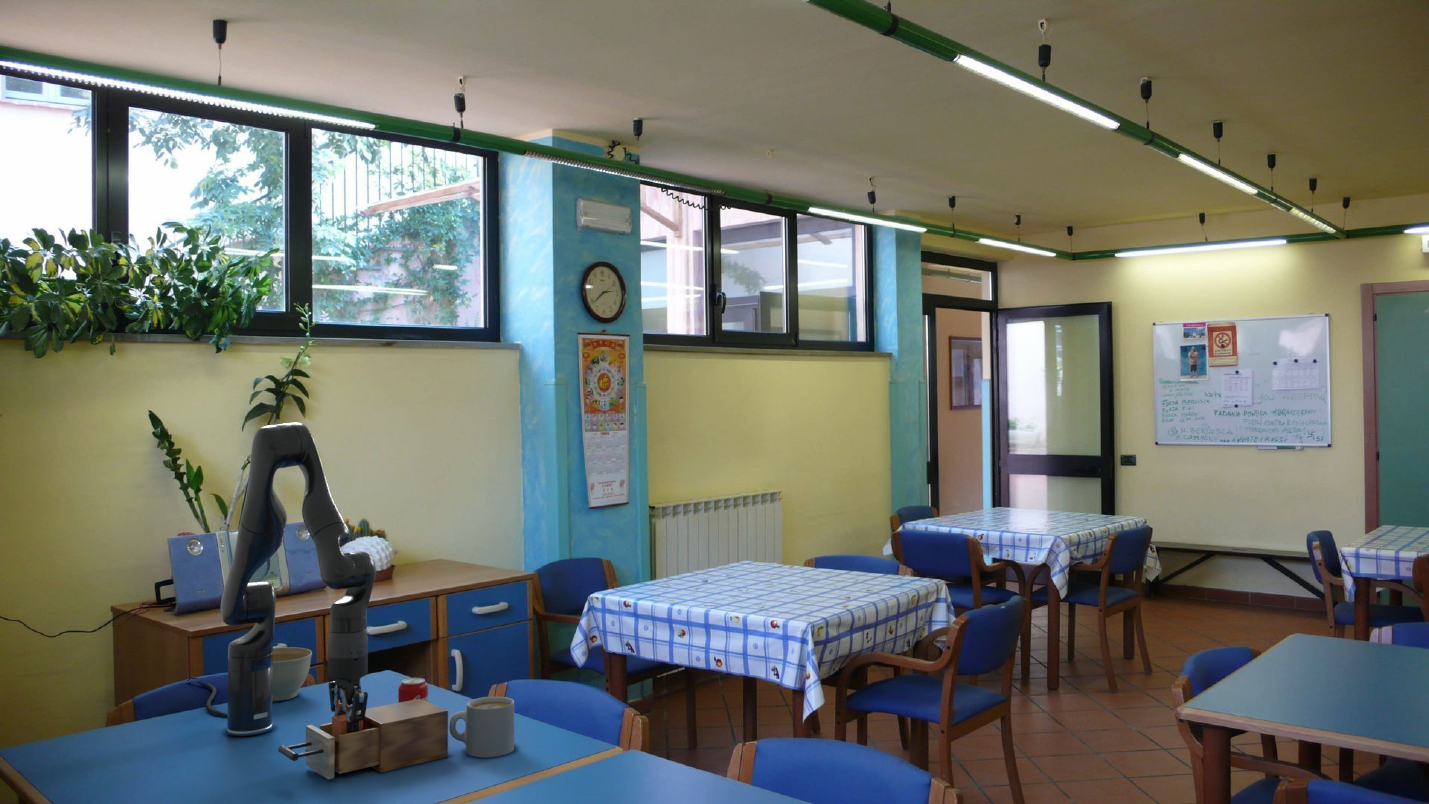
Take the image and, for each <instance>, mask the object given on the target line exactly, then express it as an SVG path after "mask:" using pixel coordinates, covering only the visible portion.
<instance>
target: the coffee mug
mask: <svg viewBox="0 0 1429 804" xmlns="http://www.w3.org/2000/svg"><path fill="white" fill-rule="evenodd" d="M459 720H463V721H464V723H465V728H464V731H463V732H458V730H457V728H456V725H457V722H458V721H459ZM448 729H449V733H450V735H451V737H452V738H453V739H455V740H457V741H459V742H461V743H463V744H464V745H465V748H466V754H467V755H469V756H471V757H475V758H497V757H502V756H506V755H509V754H511V753H512V752H514V751H515V700H514V699H513V698H510V697H507V696H483V697H478V698H474V699H471V700H469V701H468V702H466V710H461V711H457V712H454V713H453V715H452V716H451V717H450V720H449V726H448Z"/></svg>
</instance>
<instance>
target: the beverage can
mask: <svg viewBox="0 0 1429 804" xmlns="http://www.w3.org/2000/svg"><path fill="white" fill-rule="evenodd" d="M397 692H398V693H397V695H398V698H397V699H398V702H397V703H400V702H405V701H410V700H416V699H422V700H424V701H427V702H429V699H428V698H429V686H428V684H427V683H426V680H425V678H422V677H409V678H404V679H402V680H401V684H400V685H399V686H398V691H397Z"/></svg>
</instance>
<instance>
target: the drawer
mask: <svg viewBox="0 0 1429 804" xmlns="http://www.w3.org/2000/svg"><path fill="white" fill-rule="evenodd" d="M301 748H305V752H301V753H297V752H295V751H294V750H296V749H301ZM277 751H278V752H279V753H280V754H282V755H283V756H285V757H286V758H288V759H289V760H291V761H293V762H297V761H298V760H299V759H300V758H305V766H307V767H308V768H310V769H311V770H313V771H314V772H316V773H317V774H319V775H321V776H322V777H324V778H326V779H327V780H331V779H335V772H336V773H337V774H339V775H342V774H345V773H350V772H353V771H358V770H362V769H365V768H366V769H367V768H372V767H371V766H376V765H380V727H379V726H377V725H375V724H373V723H371V722H369V721H367V720H365V719H364V720H363V730H362V731H357V732H352V733H348V734H343V735H338V742H336V741H335V737H333V736H332V722H329V723H324V724H320V725H319V728H318V727H316V726H315V725H313V724H308V725H305V742H303V743H302V742H301V743H297V744H292V745H288V746H286V745H284V744H282V745H279V747H278V748H277Z"/></svg>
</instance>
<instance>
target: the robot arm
mask: <svg viewBox="0 0 1429 804" xmlns="http://www.w3.org/2000/svg"><path fill="white" fill-rule="evenodd" d="M250 451H251V452H250V459H249V460H250V461H249V471H248V480H247V481H248V482H247V487H246V493H245V499H244V503H243V509H242V513H241V516H240V520H239V526H238V530H237V536H236V542H235V548H234V553H233V557H232V562H231V565H230V569H229V572H228V575H227V578H226V581H225V584H224V588H223V591H222V595H221V601H220V617H221V620H222V622H223V623H224V624H225V625H227V626H232V627H233V626H235V627H236V626H246V625H253V627H252V628H251V629H250V630H249V631H248V632H246V633H245V634H243V635H242V636H240V637H238V638H236V639H234V640H232V641H231V642H230V643H229V644H228V648H227V713H226V712H223V711H220V710H217V709H216V708H213V707H212V702H213V700H215V697H216V694H217V688H216V687H215V686H214V685H212V684H211V683H208V682H207V683H208V684H204V683H200V682H197V684H200V685H202V686H204V687H206V688H209V689H210V690H211V691H212V692H211V694H210V696H209V698H208V699H207V701H206V709H207V711H209V712H210V713H212V714H213V715H215V716H218V717H221V718H227V719H226V720H227V721H226V722H227V723H226V726H227V727H226V734H227V735H229V736H233V737H250V736H257V735H262V734H265V733H268V732H270V731H271V730H273V701H272V683H273V648H274V642H275V641H274V640H275V621H276V608H277V607H276V605H277V599H276V597H277V596H276V595H277V594H276V591H275V587H274V585H273V584H272V583H271V582H270V581H253V582H250V581H251V580H252V578H253V577H254V575H255V573H256V572H257V571H259V569H261V568H262V567H263V566H264V565H265V564H266V563H267V562H268V561H269V560H270V559H271V558H272V557H273V556H274V555H275V554H276V553H277V551H278V550H279V549H280V547H281V546H282V544H283V540H284V536H285V531H286V527H287V522H288V515H287V514H288V513H287V511H286V508H285V506H284V504H283V503H282V501H281V499H280V498H279V496H278V495H277V493H276V491H275V488H274V479H275V475H276V473H277V471H278V470H279V469H285V468H292V467H298V468H299V469H300V471H301V473H302V475H303V477H304V482H305V484H304V493H303V498H302V504H301V516H302V520H303V523H304V526H305V527H306V529H307V532H308V533H309V536H310V538H311V539H312V541H313V543H314V545H315V551H316V556H317V563H318V569H319V575H320V577H321V579H322V581H323V583H324V584H325V585H326V586H327V587H328V588H329V589H332V590H335V591H340V590H345V593H344V595H343V596H342V597H341V598H340V599H338V600H336V601H335V602H333V603H332V604H331V605H330V610H329V637H328V645H327V647H328V648H327V676H328V678H330V679H332V680H333V681H329V682H328V693H329V703H330V711H331V712H332V713H334V714H333V715H334V716H337V715H343V714H346V718H347V734H348V733H352V732H357V731H359V721H361V720H364V719H365V713H366V709H367V705H368V697H369V693H368V691H363V690H362V685H361V679H362V678H364V677H365V676H367V675H368V673H369V668H368V667H369V638H368V637H369V636H368V607H369V603H370V599H371V596H372V592H373V589H374V585H375V580H376V575H377V567H376V563H375V561H374V559H373V557H372V555H371V554H370V553H368V552H367V551H351V552H345V553H343V551H342V550H341V548H342V547H344V546H346V544H348V543H349V541H350V539H351V532H350V530H349V527H348V525H347V523H346V521H345V520H344V517H343V516H342V514H341V512H340V509H339V508H338V506H337V504H336V501H335V499H334V497H333V494H332V492H331V488H330V485H329V483H328V479H327V476H326V471H325V469H324V466H323V463H322V460H321V457H320V454H319V450H318V447H317V445H316V442H315V439H314V436H313V434H312V433H311V431H310V429H309V428H308V426H306V425H305V424H303V423H302V422H286V423H280V424H270V425H265V426H261V427H260V428H258V429H257V430H256V432H255V433H254V436H253V438H252V443H251V450H250ZM190 679H200V678H198V677H194V676H192V677H190V678H188V679H187V680H186V682H187V681H189V680H190ZM360 710H361V713H360Z"/></svg>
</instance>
